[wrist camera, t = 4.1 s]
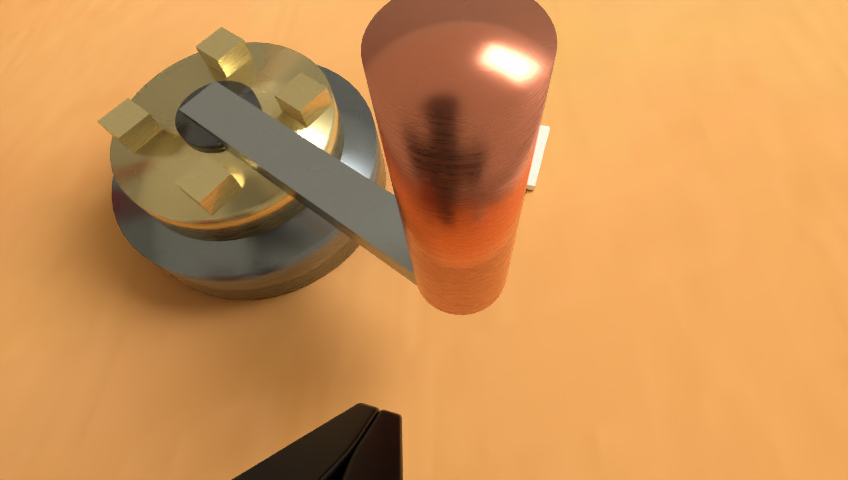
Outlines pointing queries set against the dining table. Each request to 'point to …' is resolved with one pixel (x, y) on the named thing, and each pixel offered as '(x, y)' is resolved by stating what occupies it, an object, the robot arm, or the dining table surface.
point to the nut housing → (270, 251)
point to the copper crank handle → (324, 140)
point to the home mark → (537, 156)
